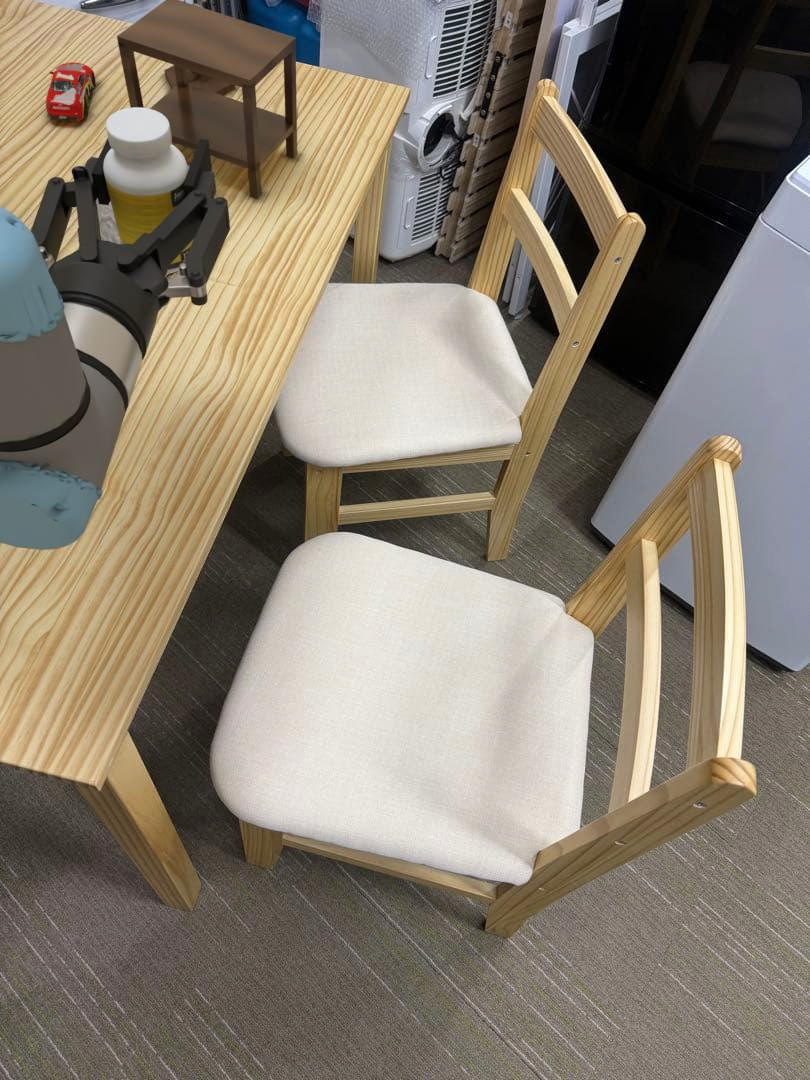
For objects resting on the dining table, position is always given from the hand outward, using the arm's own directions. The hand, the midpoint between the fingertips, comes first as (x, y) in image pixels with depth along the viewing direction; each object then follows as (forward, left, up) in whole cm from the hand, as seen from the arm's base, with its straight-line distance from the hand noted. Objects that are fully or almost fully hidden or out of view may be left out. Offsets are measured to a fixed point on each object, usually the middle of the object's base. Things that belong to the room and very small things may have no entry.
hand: (163, 149), depth 66 cm
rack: (-18, +37, -26) cm, 48 cm away
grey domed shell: (-19, +20, -26) cm, 38 cm away
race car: (-42, +37, -26) cm, 62 cm away
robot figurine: (-30, +52, -26) cm, 65 cm away
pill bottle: (+2, -5, -7) cm, 8 cm away
